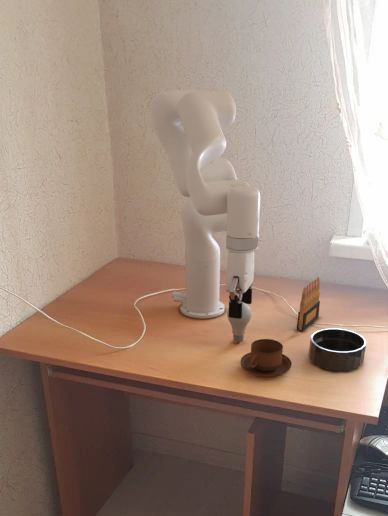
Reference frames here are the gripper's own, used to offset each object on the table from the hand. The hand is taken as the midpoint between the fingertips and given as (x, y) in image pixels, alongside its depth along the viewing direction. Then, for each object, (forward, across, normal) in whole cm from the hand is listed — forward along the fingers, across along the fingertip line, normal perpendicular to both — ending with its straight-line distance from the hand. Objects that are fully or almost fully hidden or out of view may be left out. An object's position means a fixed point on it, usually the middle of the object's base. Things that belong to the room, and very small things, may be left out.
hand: (240, 310), depth 155 cm
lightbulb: (+9, 0, 0) cm, 9 cm away
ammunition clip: (+9, -18, +14) cm, 25 cm away
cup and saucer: (+10, +11, +9) cm, 17 cm away
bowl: (+10, +2, +24) cm, 26 cm away
